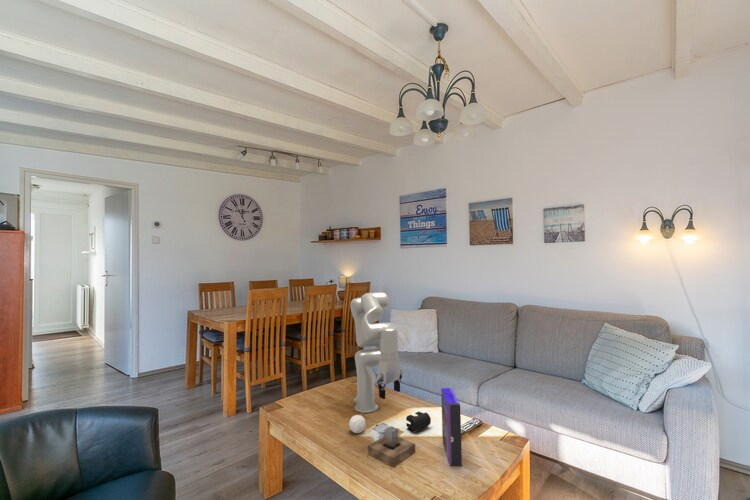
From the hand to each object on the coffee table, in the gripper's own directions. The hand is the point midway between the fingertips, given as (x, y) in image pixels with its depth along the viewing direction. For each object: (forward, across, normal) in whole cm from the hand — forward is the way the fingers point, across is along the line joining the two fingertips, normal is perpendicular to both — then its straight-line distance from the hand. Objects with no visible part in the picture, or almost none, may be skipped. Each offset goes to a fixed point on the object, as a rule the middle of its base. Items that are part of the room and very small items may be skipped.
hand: (389, 394), depth 157 cm
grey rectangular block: (+22, +4, +4) cm, 23 cm away
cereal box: (+22, -12, +23) cm, 34 cm away
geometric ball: (+23, +1, -20) cm, 30 cm away
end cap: (+23, -20, 0) cm, 30 cm away
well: (+22, +4, +4) cm, 23 cm away
